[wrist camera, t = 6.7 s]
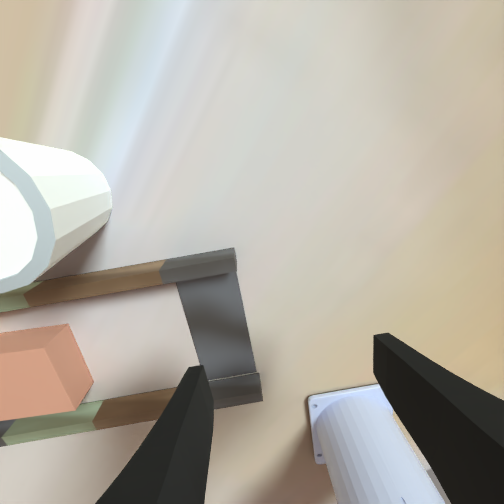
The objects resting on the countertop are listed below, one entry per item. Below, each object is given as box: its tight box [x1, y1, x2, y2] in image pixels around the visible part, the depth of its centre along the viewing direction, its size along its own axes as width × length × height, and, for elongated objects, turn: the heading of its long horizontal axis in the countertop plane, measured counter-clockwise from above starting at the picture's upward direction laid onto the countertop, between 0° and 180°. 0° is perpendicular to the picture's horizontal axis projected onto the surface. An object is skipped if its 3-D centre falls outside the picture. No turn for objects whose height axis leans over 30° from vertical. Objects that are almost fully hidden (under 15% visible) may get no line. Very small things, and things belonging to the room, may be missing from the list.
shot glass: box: [0, 137, 113, 293], centre depth 14 cm, size 7×7×7 cm
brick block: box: [0, 324, 94, 421], centre depth 20 cm, size 6×7×3 cm
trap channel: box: [0, 248, 263, 447], centre depth 20 cm, size 13×29×2 cm, turn 99°
